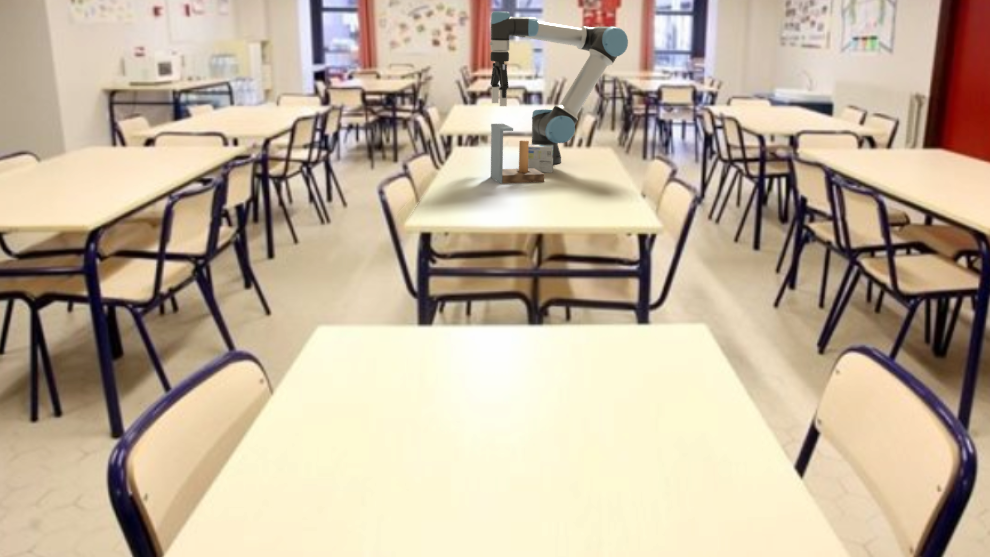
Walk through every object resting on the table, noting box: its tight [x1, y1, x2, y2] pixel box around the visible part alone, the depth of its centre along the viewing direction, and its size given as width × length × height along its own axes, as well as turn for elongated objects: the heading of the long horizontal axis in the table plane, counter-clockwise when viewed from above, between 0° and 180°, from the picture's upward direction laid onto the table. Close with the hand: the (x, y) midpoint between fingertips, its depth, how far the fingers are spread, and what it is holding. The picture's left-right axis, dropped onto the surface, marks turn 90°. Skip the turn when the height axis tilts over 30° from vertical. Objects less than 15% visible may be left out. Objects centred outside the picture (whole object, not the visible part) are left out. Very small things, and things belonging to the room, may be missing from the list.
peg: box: [518, 140, 530, 173], centre depth 327 cm, size 4×4×15 cm
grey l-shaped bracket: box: [490, 123, 514, 184], centre depth 324 cm, size 5×15×21 cm, turn 14°
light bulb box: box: [528, 144, 554, 174], centre depth 347 cm, size 11×7×11 cm, turn 84°
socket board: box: [501, 168, 545, 184], centre depth 329 cm, size 17×14×3 cm
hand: (499, 104), depth 344 cm, fingers open, 13 cm apart
